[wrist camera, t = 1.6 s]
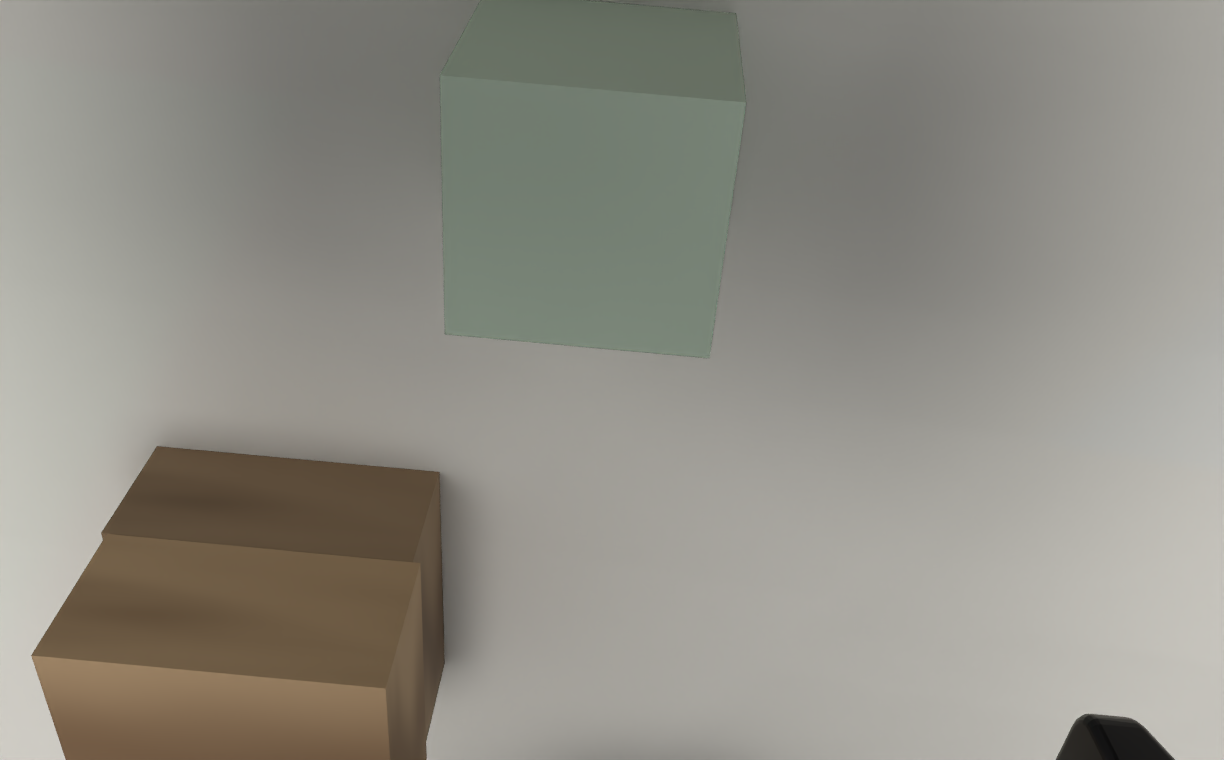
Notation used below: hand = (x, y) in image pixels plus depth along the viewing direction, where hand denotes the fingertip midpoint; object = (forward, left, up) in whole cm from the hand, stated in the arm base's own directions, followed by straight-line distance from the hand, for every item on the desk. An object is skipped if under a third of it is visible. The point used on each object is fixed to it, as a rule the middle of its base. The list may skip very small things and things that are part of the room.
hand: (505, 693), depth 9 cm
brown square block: (-11, +6, -9) cm, 16 cm away
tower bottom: (-11, +6, -12) cm, 18 cm away
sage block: (0, 0, -12) cm, 12 cm away
